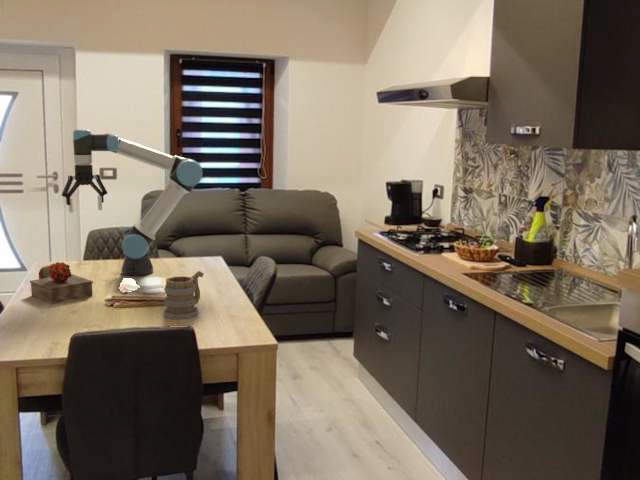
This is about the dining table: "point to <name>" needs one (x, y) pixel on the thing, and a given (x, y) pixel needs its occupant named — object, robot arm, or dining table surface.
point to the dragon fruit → (60, 272)
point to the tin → (45, 272)
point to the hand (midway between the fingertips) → (85, 211)
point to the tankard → (182, 296)
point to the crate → (61, 289)
